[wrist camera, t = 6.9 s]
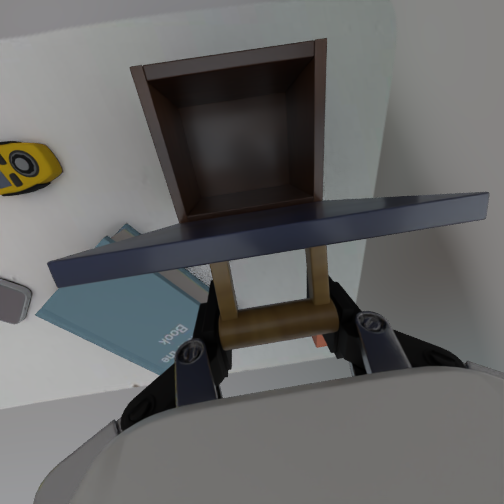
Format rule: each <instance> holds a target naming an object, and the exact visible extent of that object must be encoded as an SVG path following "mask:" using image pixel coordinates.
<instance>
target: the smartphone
mask: <svg viewBox="0 0 504 504" xmlns="http://www.w3.org/2000/svg"><path fill="white" fill-rule="evenodd" d="M30 298H31V292H30V290H29V289H27V288H25V287H23V286H20V285H17V284H14V283H11V282H8V281H5V280H3V279H0V321H3V322H7V323H10V324H18V323H20V322H21V321H22V320H24V319H25V317H26V313H27V309H28V306H29V302H30Z"/></svg>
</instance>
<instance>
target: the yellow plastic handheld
mask: <svg viewBox="0 0 504 504" xmlns="http://www.w3.org/2000/svg"><path fill="white" fill-rule="evenodd" d="M61 173H62V168H61V166H60V164H59V162H58V160H57V159H56V157H55V156H54V154H53V153H52V152H51V151H50V149H49V148H48V147H47V146H45V145H43V144H39V143H22V142H16V141H7V142H0V195H2V196H12V195H19V194H25V193H29V192H33V191H36V190H39V189H41V188H44V187H46V186H47V185H49V184H51V182H50V181H52V180H54V179H55V178H56V177H58V176H59V175H60V174H61Z"/></svg>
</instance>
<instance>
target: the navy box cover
mask: <svg viewBox="0 0 504 504" xmlns="http://www.w3.org/2000/svg"><path fill="white" fill-rule="evenodd" d="M488 200H489V192H475V193H455V194H438V195H418V196H400V197H381V198H363V199H344V200H326V201H318V202H312V203H306V204H299V205H293V206H287V207H280V208H274V209H268V210H261V211H255V212H249V213H242V214H236V215H230V216H223V217H217V218H211V219H205V220H198V221H192V222H186V223H179V224H175V225H172V226H169V227H165V228H162V229H158V230H155V231H152V232H148V233H145V234H141V235H138V236H135V237H131V238H128V239H124V240H121V241H118V242H114V243H111V244H107V245H104V246H101V247H97V248H94V249H90V250H87V251H84V252H80V253H77V254H73V255H70V256H67V257H63V258H60V259H56V260H53V261H50V262H48V263H47V265H48V267H49V270H50V272H51V274H52V277H53V279H54V281H55V284H56V286H57V287H58V288H63V287H69V286H76V285H82V284H88V283H94V282H100V281H107V280H113V279H119V278H125V277H131V276H138V275H144V274H150V273H156V272H162V271H169V270H175V269H181V268H187V267H193V266H200V265H206V264H210V268H211V273H212V278H213V282H214V287H215V292H216V296H217V301H218V305H219V310H220V316H219V337H220V342H221V346H222V348H223V350H225V351H226V350H232V349H238V348H244V347H250V346H256V345H262V344H268V343H274V342H280V341H286V340H292V339H298V338H304V337H310V336H316V335H322V334H327V333H333V332H337V331H338V329H339V318H338V313H337V310H336V307H335V305H334V303H333V301H332V300H331V298H330V296H329V279H328V263H327V246H326V245H330V244H336V243H342V242H348V241H354V240H361V239H367V238H373V237H379V236H385V235H392V234H397V233H403V232H410V231H416V230H422V229H429V228H434V227H441V226H447V225H453V224H460V223H466V222H471V221H478V220H484V219H486V215H487V208H488ZM299 249H305V252H306V263H307V274H308V285H309V297H310V298H306V299H300V300H294V301H288V302H282V303H276V304H270V305H264V306H258V307H252V308H246V309H240V310H238V307H237V301H236V296H235V291H234V286H233V280H232V275H231V270H230V264H229V261H230V260H237V259H243V258H249V257H255V256H261V255H268V254H274V253H280V252H286V251H292V250H299Z"/></svg>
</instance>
